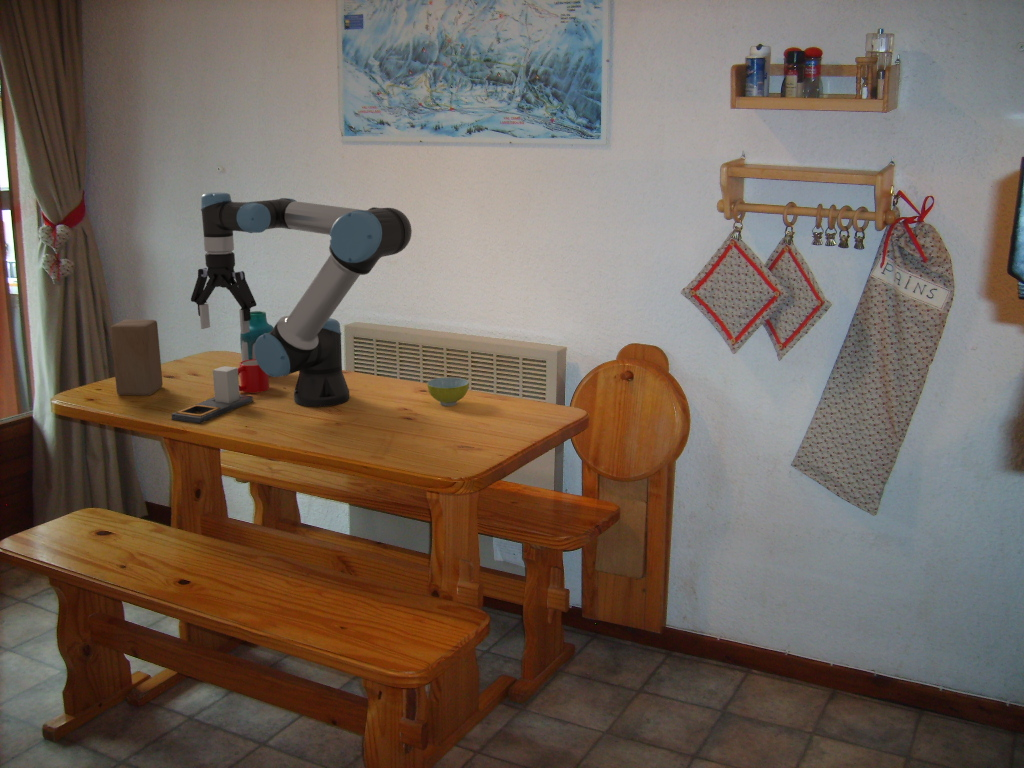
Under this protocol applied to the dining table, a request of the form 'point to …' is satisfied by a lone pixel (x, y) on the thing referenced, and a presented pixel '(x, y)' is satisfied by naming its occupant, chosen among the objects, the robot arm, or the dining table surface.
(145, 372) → the block
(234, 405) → the grey slotted plate
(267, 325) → the vase
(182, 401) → the dining table surface
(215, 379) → the peg
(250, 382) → the mug
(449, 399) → the bowl
